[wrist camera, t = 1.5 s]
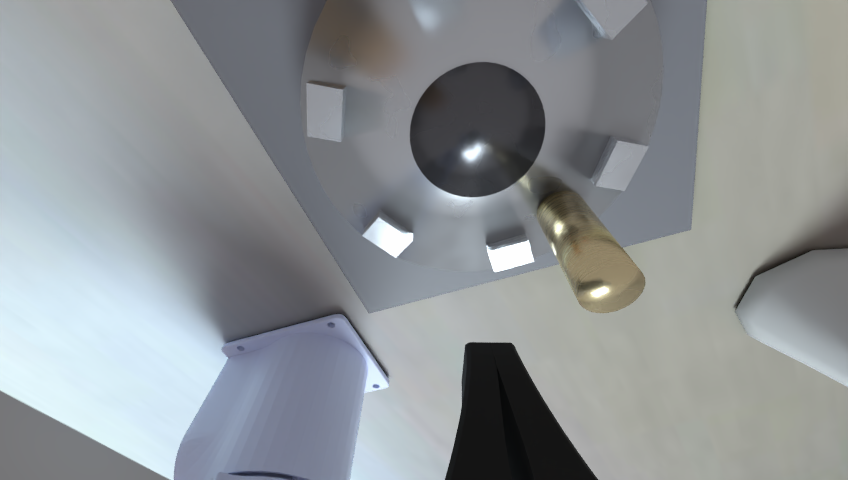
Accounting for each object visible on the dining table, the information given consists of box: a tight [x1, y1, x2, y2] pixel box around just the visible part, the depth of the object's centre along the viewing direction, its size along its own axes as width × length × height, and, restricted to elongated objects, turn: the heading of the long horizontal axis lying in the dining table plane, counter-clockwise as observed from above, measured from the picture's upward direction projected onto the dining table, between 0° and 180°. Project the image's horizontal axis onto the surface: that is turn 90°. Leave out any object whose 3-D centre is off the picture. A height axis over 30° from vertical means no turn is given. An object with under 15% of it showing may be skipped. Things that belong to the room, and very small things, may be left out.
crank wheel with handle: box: [300, 0, 664, 313], centre depth 12 cm, size 13×13×7 cm
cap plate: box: [171, 0, 707, 313], centre depth 15 cm, size 18×18×1 cm
